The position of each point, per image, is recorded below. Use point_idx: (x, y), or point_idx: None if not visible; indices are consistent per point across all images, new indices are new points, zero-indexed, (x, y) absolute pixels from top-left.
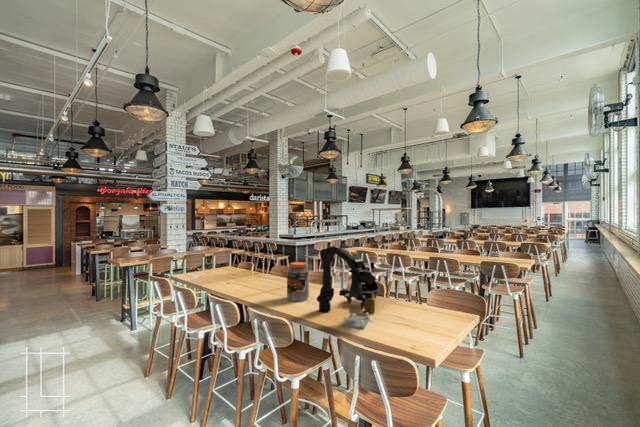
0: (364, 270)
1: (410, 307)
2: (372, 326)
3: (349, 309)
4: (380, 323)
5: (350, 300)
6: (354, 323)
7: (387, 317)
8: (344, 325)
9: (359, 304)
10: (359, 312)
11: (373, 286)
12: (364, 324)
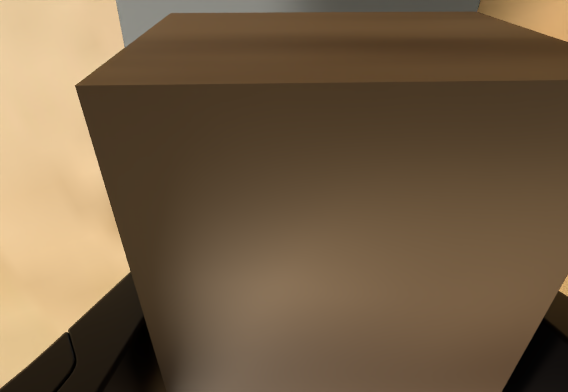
0: None
1: None
2: (38, 55)
3: (516, 29)
4: (3, 193)
5: None
6: (303, 6)
7: (32, 349)
8: None
9: (179, 255)
10: (173, 21)
11: None
12: (137, 20)
